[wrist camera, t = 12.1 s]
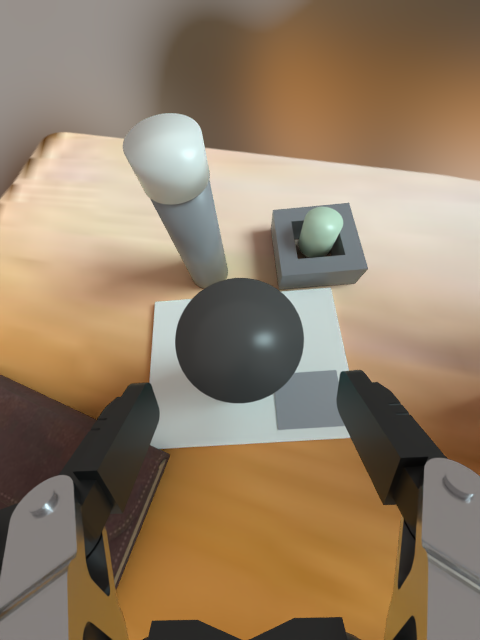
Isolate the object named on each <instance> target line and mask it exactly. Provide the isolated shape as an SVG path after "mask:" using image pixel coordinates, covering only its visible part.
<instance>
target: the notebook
mask: <svg viewBox="0 0 480 640" xmlns="http://www.w3.org/2000/svg"><path fill="white" fill-rule="evenodd" d="M96 421H97V420H96V419H94V418H91V417H89V416H87V415H85V414H83V413H81V412H79V411H77V410H74V409H72V408H70V407H68V406H66V405H64V404H62V403H60V402H57V401H55V400H53V399H51V398H49V397H47V396H45V395H43V394H40V393H38V392H36V391H34V390H32V389H30V388H28V387H26V386H23V385H21V384H19V383H17V382H15V381H13V380H11V379H9V378H6V377H4V376H2V375H0V509H3V508H6V507H9V506H11V505H14V504H17V503H20V501H21V500H22V499H23V498H24V497H25V496H26V495H27V494H28V493H29V492H30V491H31V490H32V489H33V488H35V487H36V486H37V485H39V484H40V483H42V482H43V481H45V480H47V479H49V478H52V477H54V476H58V475H59V473H60V472H61V471H62V469H63V468H64V466H65V465H66V463H67V462H68V460H69V459H70V458H71V456H72V455H73V453H74V452H75V450H76V449H77V448H78V446H79V445H80V443H81V442H82V440H83V439H84V437H85V436H86V435H87V433H88V432H89V431H90V430H91V427H92V426H93V424H94V423H95V422H96ZM169 457H170V455H169V454H168V453H166V452H164V451H162V450H159V449H157V448H155V447H153V446H151V445H150V446H149V448H148V451H147V453H146V456H145V458H144V461H143V463H142V466H141V469H140V471H139V474H138V476H137V479H136V481H135V484H134V486H133V489H132V492H131V494H130V497H129V499H128V502H127V504H126V507H125V509H124V512H123V513H121V514H110V515H109V517H108V519H107V522H106V524H105V528H106V531H107V538H108V544H109V551H110V557H111V564H112V570H113V577H114V583H115V590H116V589H117V586H118V584H119V581H120V579H121V576H122V574H123V571H124V569H125V566H126V564H127V561H128V559H129V556H130V554H131V551H132V549H133V546H134V544H135V541H136V539H137V536H138V534H139V531H140V529H141V526H142V524H143V522H144V519H145V517H146V514H147V512H148V509H149V507H150V504H151V502H152V499H153V497H154V494H155V492H156V489H157V487H158V484H159V482H160V479H161V477H162V474H163V472H164V469H165V467H166V464H167V462H168V459H169Z"/></svg>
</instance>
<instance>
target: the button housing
mask: <svg viewBox="0 0 480 640" xmlns="http://www.w3.org/2000/svg"><path fill="white" fill-rule="evenodd" d="M317 207H329V208H332V209H334V210H336V211H337V212H338V213H339V214H340V215H341V216H342V219H343V227H342V229H341V231H340V233H339V235H338V237H337V239H336V241H335V242H334V244H333V246H332V248H331V255H332V256H327V257H315V258H304V259H298V258H297V252H296V246H295V240H294V239H299V237H300V233H301V230H302V226H303V223H304V219H305V216H306V214H307V213H308V212H309V211H310V210H312V209H314V208H317ZM271 233H272V241H273V248H274V256H275V263H276V271H277V279H278V286H279V290H282V289H294V288H306V287H318V286H330V285H342V284H355V283H356V282H357V281H358V279H359V278H360V277H361V276H362V275H363V274H364V273H365V272H366V270H367V269H368V267H367V263H366V260H365V257H364V253H363V250H362V246H361V243H360V239H359V236H358V232H357V229H356V225H355V222H354V219H353V215H352V212H351V208H350V205H349V203H343V204H333V205H322V206H312V207H301V208H291V209H280V210H273V214H272V224H271Z"/></svg>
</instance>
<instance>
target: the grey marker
mask: <svg viewBox="0 0 480 640" xmlns="http://www.w3.org/2000/svg"><path fill="white" fill-rule="evenodd" d="M123 151H124V154H125V156H126V158H127V159H128V161H129V163H130V165H131V167H132V169H133V171H134V173H135V174H136V176H137V178H138V180H139V182H140V184H141V186H142V188H143V190H144V191H145V193H146V195H147V196H148V197H149V198H150V199H151V201H152V203H153V205H154V207H155V209H156V210H157V212H158V214H159V216H160V218H161V220H162V222H163V224H164V226H165V228H166V230H167V231H168V233H169V235H170V237H171V239H172V241H173V243H174V245H175V247H176V249H177V251H178V253H179V254H180V256H181V258H182V260H183V262H184V264H185V266H186V268H187V270H188V272H189V274H190V275H191V277H192V279H193V281H194V283H195V284H196V285H197V286H199V287H201V288H204V289H205V288H206V287H208V286H210V285H212V284H214V283H217V282H219V281H223V280H226V278H227V275H228V268H227V263H226V259H225V254H224V249H223V244H222V239H221V234H220V229H219V225H218V220H217V215H216V210H215V205H214V200H213V196H212V191H211V186H210V181H209V178H210V173H209V167H208V162H207V157H206V152H205V147H204V142H203V137H202V132H201V129H200V127H199V125H198V124H197V122H196V121H194V120H193V119H192V118H189V117H188V116H185V115H181V114H175V113H167V114H159V115H155V116H152V117H149V118H147V119H144V120H142V121H141V122H139V123H138V124H136V125H135V126H134V127H133V128H132V129H131V130H130V131H129V132H128V133H127V135H126V136H125V139H124V142H123Z"/></svg>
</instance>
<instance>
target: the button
mask: <svg viewBox="0 0 480 640" xmlns="http://www.w3.org/2000/svg"><path fill="white" fill-rule="evenodd" d="M342 227H343V219H342V216H341V215H340V214H339V213H338V212H337V211H336V210H334V209H332V208H329V207H317V208H314V209H312V210H310V211H309V212H308V213H307V214H306V216H305V219H304V223H303V226H302V230H301V233H300V237H299V240H298V247H299V249H300V251H301V252H302V253H303V254H304V255H306V256H308V257H310V258H315V257H324V256H326V255H327V254H328V253H329V252H330V250H331V248H332V246H333V244H334V242H335V241H336V239H337V237H338V235H339V233H340V231H341V229H342Z"/></svg>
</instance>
